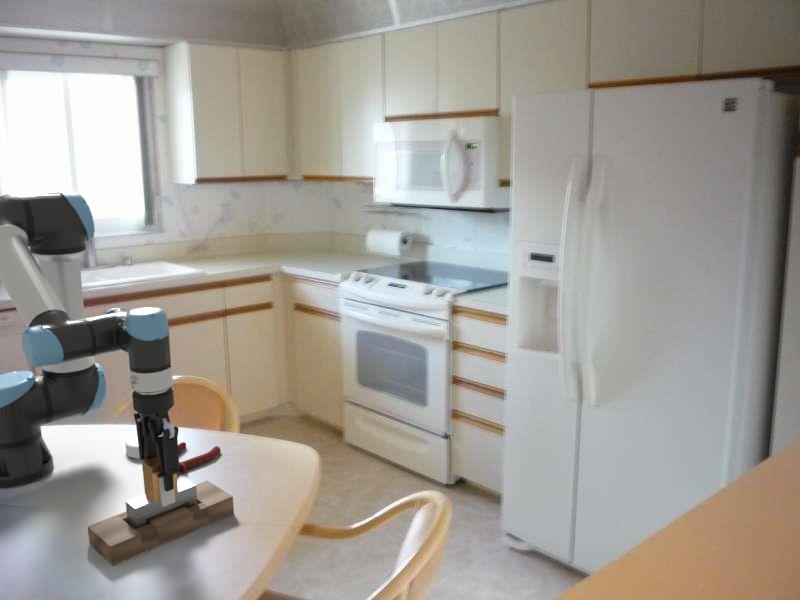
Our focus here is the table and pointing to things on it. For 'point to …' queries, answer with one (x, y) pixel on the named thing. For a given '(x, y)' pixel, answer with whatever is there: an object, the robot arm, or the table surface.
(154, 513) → the clip
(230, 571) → the table surface
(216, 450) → the pliers
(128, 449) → the white round stack
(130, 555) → the slotted wooden block
